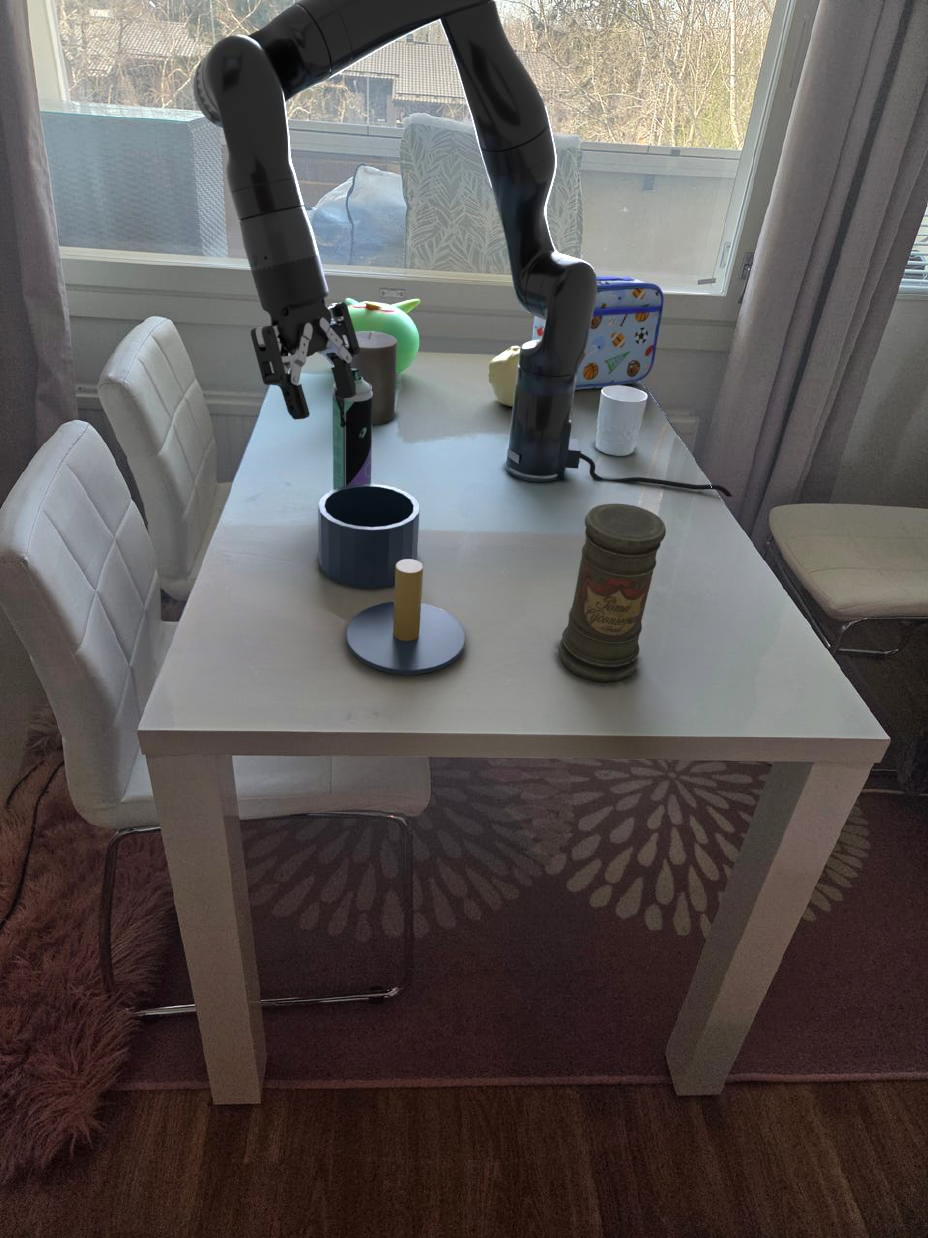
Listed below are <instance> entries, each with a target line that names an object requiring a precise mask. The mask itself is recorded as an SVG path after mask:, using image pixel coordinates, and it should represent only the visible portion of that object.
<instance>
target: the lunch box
mask: <svg viewBox="0 0 928 1238" xmlns="http://www.w3.org/2000/svg"><path fill="white" fill-rule="evenodd" d="M596 278H597V296H596V303H595V308H594V313H593V317H592V322H591V327H590V332H589V337H588V341H587V345H586V349H585V351H584V353H583V355H582V357H581V359H580V362H579V367H578V373H577V379H576V386H575V391H576V390H577V391H578V390H587V389H588V390H589V389H603V388H604V387H607V386H615V385H618V386H622V385H626V384H632V383H636V382H640V381H642V380H644V379H645V378H646V377H647V376H648V375H649V374H650V372H651V371H652V368H653V367H654V363H655V359H656V351H657V345H658V339H659V333H660V326H661V322H662V318H663V317H662V316H663V311H664V310H663V309H664V303H665V298H664V297H665V296H664V293H663V290H662V288H661V287H660V286H659V285H657V284H655V283H651V282H644V281H642V280H640V279H637V278H633V277H631V276H617V275H607V276H606V275H605V276H597V275H596ZM533 318H534V319H533V329H532V337H531V341H533V340H539V339H542V336H543V332H544V327H545V322H546V320H544V319H541V318H538V317H536V316H534V317H533Z"/></svg>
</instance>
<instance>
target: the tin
mask: <svg viewBox="0 0 928 1238" xmlns="http://www.w3.org/2000/svg"><path fill="white" fill-rule="evenodd" d="M420 509H421V507H420V504H419V502H418V500H417V499H416V498H415V497H414V496H413V495H411V494H410V493H409V492H407V491H404V490H402V489H399V488H397V487H394V486H389V485H386V484H385V485H384V484H375V483H371V484H355V485H348V486H343V487H339V488H336V489H334V490H333V489H332V490H330V491H327V492H326V493H325V494H323V496H321V498H320V499H319V501H318V504H317V523H318V526H317V528H318V530H317V531H318V562H319V567H320V570H321V571H322V573H323V574H324V575H325V576H326V577H327V578H329V579H330V580H332V581H333V582H335V583H337V584H339V585H343V586H346V587H350V588H355V589H362V590H378V589H385V588H390V587H395V568H396V563H397V562H399V561H401V560H404V559H413V560H417V561H418V549H419V548H418V546H419V529H420V511H421V510H420Z"/></svg>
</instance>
